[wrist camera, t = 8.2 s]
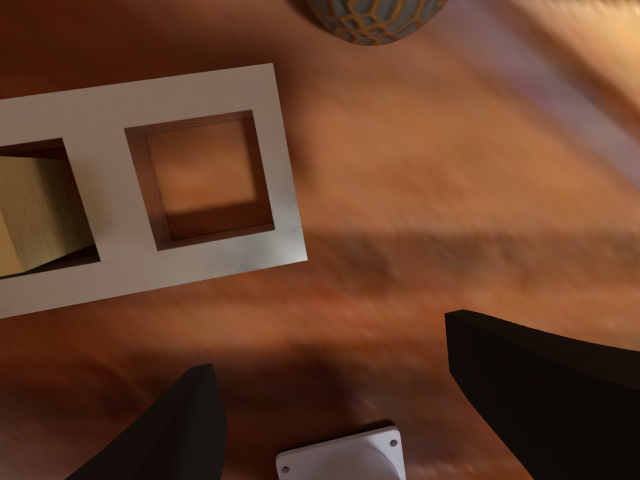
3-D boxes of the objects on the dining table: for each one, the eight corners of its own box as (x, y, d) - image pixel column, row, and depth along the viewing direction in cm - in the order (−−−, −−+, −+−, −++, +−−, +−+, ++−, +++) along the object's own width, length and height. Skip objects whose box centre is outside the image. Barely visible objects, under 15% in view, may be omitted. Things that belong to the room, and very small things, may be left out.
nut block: (106, 238, 18) (22, 272, 12) (24, 252, 17) (-103, 294, 11) (82, 160, 17) (-21, 155, 11) (-5, 173, 16) (-158, 175, 11)
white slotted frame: (303, 249, 19) (307, 259, 17) (-175, 338, 17) (-247, 365, 15) (272, 77, 17) (272, 62, 15) (-273, 153, 15) (-374, 150, 13)
